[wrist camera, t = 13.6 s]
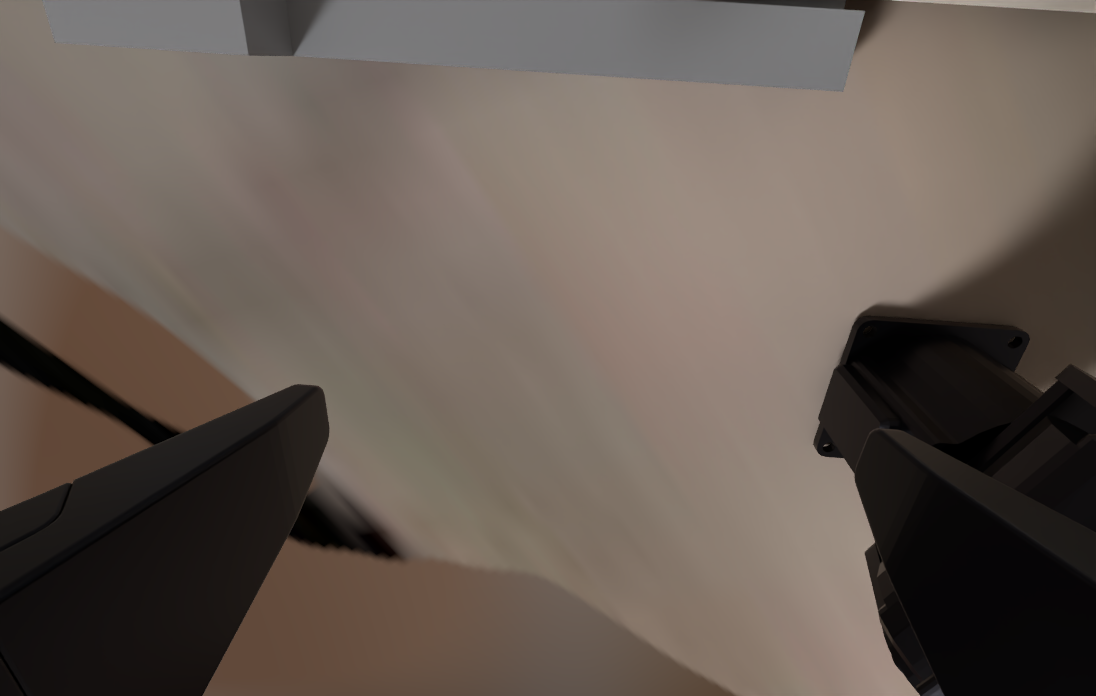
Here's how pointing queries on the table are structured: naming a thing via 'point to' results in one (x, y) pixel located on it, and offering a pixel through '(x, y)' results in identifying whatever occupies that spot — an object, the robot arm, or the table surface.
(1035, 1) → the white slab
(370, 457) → the table surface
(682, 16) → the filter housing
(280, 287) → the table surface
